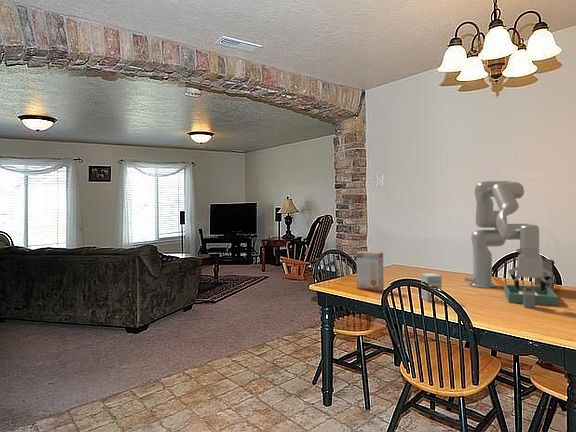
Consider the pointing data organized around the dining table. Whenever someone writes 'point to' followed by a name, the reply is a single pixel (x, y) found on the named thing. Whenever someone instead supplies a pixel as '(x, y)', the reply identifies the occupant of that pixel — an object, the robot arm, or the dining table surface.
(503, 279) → the dining table surface
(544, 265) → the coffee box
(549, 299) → the walled box
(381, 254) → the cracker box
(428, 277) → the supplement box
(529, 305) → the connector
